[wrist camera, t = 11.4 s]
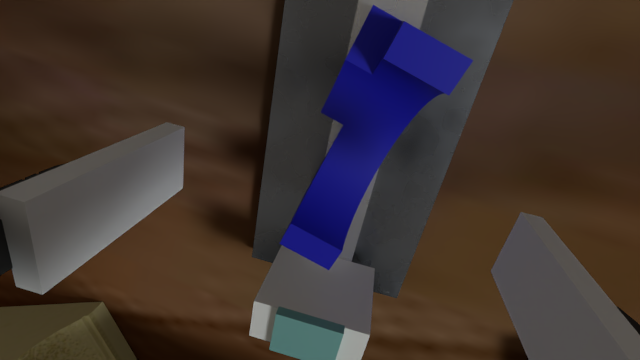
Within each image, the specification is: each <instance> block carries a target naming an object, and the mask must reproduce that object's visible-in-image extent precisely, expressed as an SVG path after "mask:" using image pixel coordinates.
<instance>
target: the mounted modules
mask: <svg viewBox="0 0 640 360" xmlns="http://www.w3.org/2000/svg"><path fill="white" fill-rule="evenodd" d="M374 272H375V268H372V267H368V266H364V265H361V264H357V263H354V262H350V261H346V260H343V259H339V258H337V259H336V261H335V262H334V264H333V265H332V267H331V268H330V270H327V269H326V268H324V267H322V266H320V265H318V264H316V263H314V262H312V261H311V260H309V259H307V258H305V257H303V256H301V255H299V254H298V253H296V252H294V251H292V250H290V249H288V248H286V247H284V246H283V245H282V246H281V248H280V250H279V252H278V254H277V256H276V258H275V260H274V262H273V264H272V266H271V268H270V270H269V272H268V274H267V276H266V278H265V280H264V282H263V284H262V286H261V288H260V290H259V292H258V294H257V296H256V298H255V300H254V305H253V312H252V319H251V326H250V333H249V336H253V337H256V338H259V339H262V340H266V341H269V342H271V343H270V348H269V350H272V351H275V352H278V353H282V354H285V355H288V356H291V357H295V358H298V359H301V360H361V358H362V355H363V353H364V350H365V347H366V345H367V342H368V339H369V337H370V328H371V314H372V300H373V286H374Z"/></svg>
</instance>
